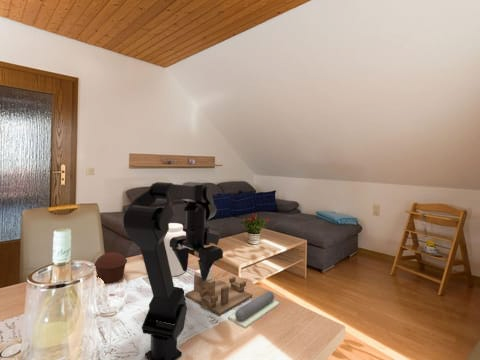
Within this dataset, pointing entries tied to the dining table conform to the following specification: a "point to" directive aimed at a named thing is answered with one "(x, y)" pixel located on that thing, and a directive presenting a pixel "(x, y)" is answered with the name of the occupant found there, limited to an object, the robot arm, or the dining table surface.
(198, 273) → the beige wooden bar
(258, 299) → the grey rod
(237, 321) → the mat
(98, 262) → the muffin
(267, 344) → the dining table surface
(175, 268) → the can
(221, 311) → the cradle
